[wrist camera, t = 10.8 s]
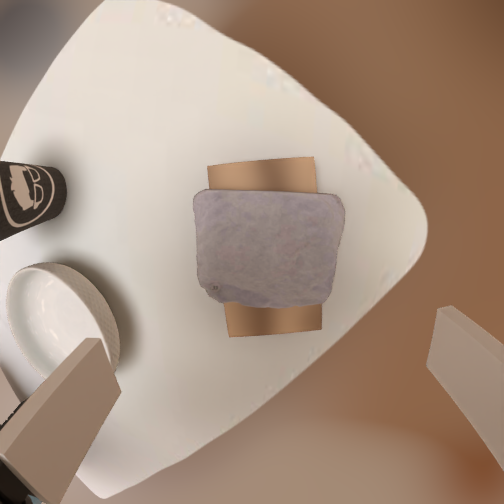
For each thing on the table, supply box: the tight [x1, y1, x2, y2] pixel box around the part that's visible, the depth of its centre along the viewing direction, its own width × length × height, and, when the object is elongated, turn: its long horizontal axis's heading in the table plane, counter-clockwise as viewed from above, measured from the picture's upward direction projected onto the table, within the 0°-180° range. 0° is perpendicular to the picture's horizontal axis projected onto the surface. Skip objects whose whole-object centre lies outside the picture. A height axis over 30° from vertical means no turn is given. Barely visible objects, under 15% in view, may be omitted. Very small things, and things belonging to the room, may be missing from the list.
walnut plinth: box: [207, 157, 322, 337], centre depth 27 cm, size 9×16×4 cm, turn 6°
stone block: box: [193, 189, 345, 309], centre depth 23 cm, size 12×5×10 cm
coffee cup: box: [0, 161, 66, 241], centre depth 21 cm, size 10×10×15 cm
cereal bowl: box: [6, 262, 120, 379], centre depth 28 cm, size 17×17×7 cm
